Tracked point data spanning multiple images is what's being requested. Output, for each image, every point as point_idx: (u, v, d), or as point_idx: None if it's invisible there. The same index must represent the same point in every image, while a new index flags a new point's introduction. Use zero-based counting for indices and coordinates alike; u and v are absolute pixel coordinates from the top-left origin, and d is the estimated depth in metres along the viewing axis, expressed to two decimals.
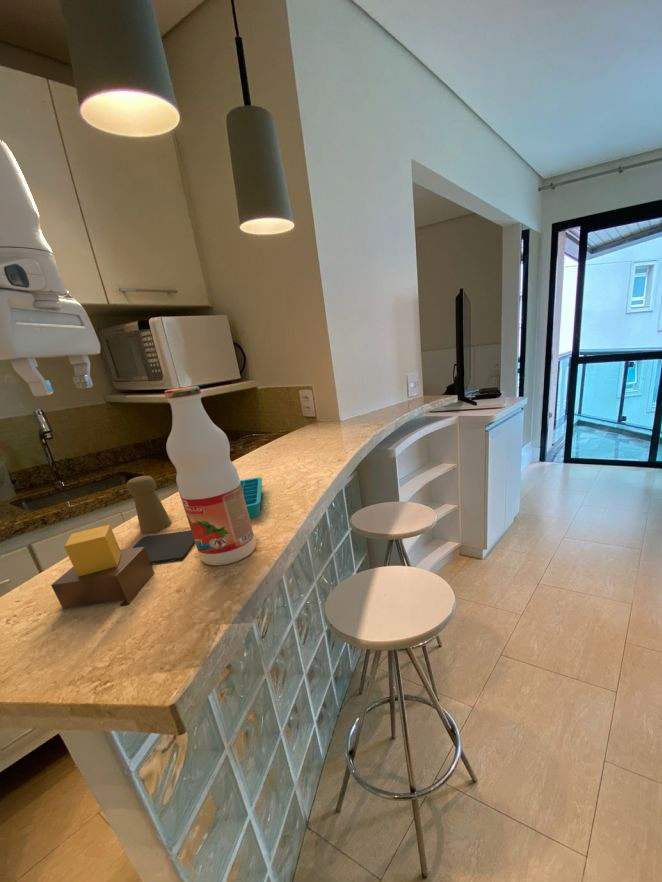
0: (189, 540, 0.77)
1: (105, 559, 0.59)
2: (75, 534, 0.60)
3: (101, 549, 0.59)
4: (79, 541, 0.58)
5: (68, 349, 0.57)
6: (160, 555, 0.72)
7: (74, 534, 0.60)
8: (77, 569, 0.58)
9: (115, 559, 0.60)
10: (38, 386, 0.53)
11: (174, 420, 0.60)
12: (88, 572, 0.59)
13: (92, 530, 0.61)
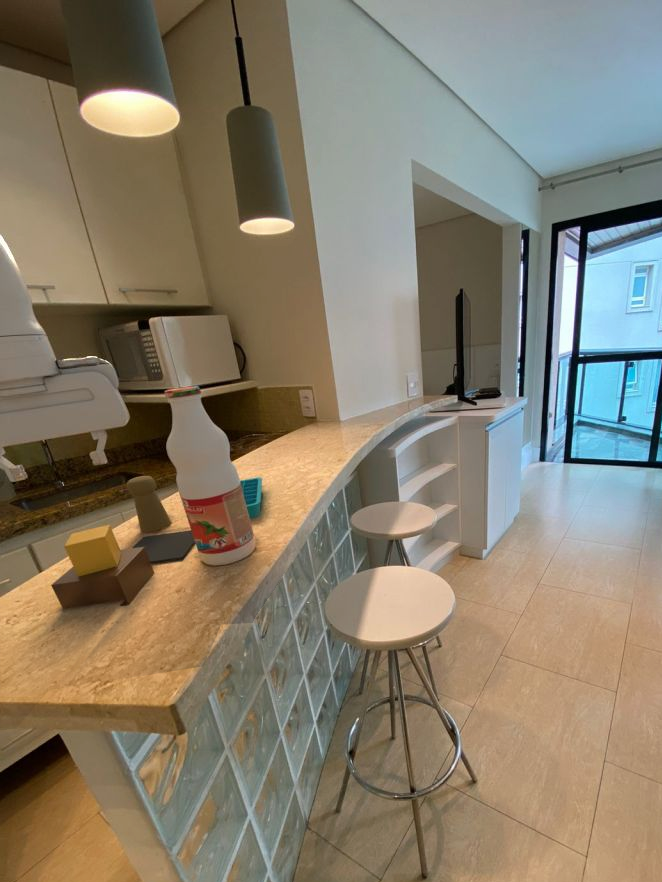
0: (189, 540, 0.77)
1: (105, 559, 0.59)
2: (75, 534, 0.60)
3: (101, 549, 0.59)
4: (79, 541, 0.58)
5: (49, 433, 0.52)
6: (160, 555, 0.72)
7: (74, 534, 0.60)
8: (77, 569, 0.58)
9: (115, 559, 0.60)
10: None
11: (174, 420, 0.60)
12: (88, 572, 0.59)
13: (92, 530, 0.61)
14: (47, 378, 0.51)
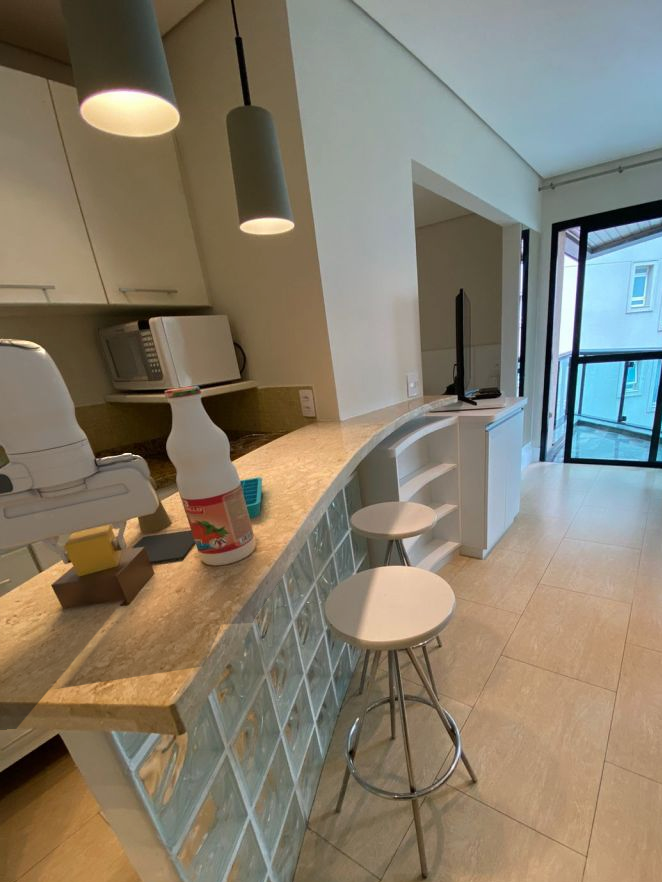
0: (189, 540, 0.77)
1: (105, 559, 0.59)
2: (75, 534, 0.60)
3: (101, 549, 0.59)
4: (79, 541, 0.58)
5: (88, 524, 0.57)
6: (160, 555, 0.72)
7: (74, 534, 0.60)
8: (77, 569, 0.58)
9: (115, 559, 0.60)
10: None
11: (174, 420, 0.60)
12: (88, 572, 0.59)
13: (92, 530, 0.61)
14: (87, 477, 0.56)
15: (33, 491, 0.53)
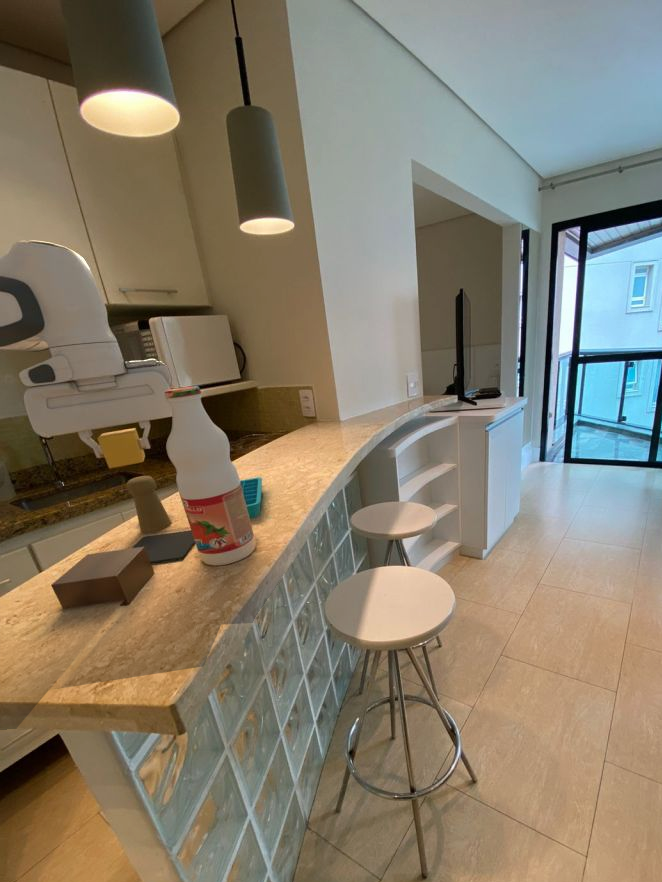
0: (189, 540, 0.77)
1: (132, 454, 0.67)
2: (106, 433, 0.68)
3: (129, 444, 0.66)
4: (110, 435, 0.65)
5: (118, 420, 0.65)
6: (160, 555, 0.72)
7: (105, 433, 0.68)
8: (108, 461, 0.66)
9: (141, 455, 0.68)
10: None
11: (174, 420, 0.60)
12: (118, 465, 0.66)
13: (120, 431, 0.68)
14: (118, 376, 0.63)
15: (72, 384, 0.61)
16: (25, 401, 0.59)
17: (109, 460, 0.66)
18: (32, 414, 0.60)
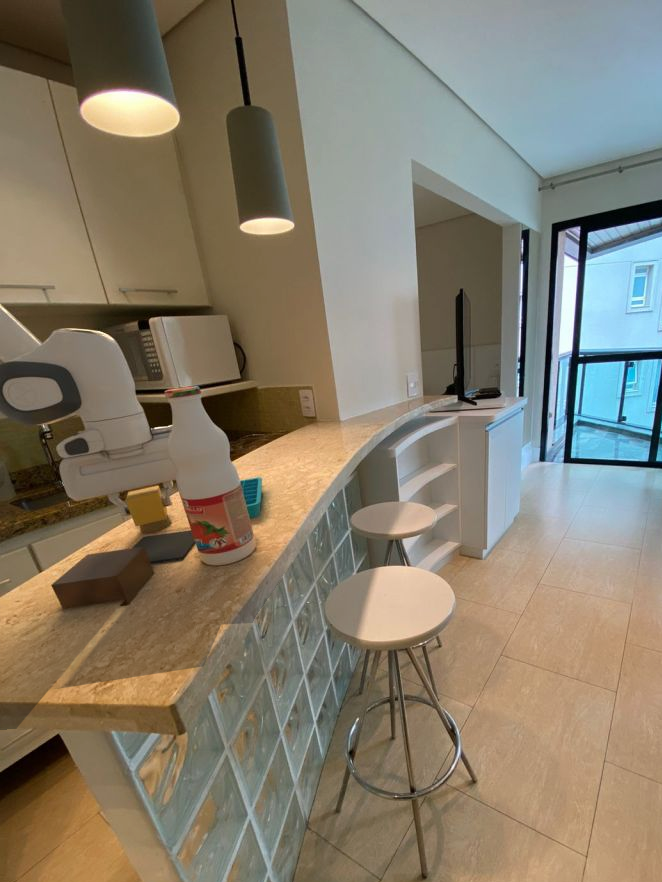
0: (189, 540, 0.77)
1: (157, 512, 0.72)
2: (132, 492, 0.73)
3: (154, 504, 0.71)
4: (136, 496, 0.70)
5: (144, 483, 0.70)
6: (160, 555, 0.72)
7: (130, 492, 0.73)
8: (135, 520, 0.70)
9: (165, 513, 0.73)
10: None
11: (174, 420, 0.60)
12: (143, 523, 0.71)
13: (145, 489, 0.73)
14: (144, 443, 0.68)
15: (103, 453, 0.66)
16: (61, 470, 0.64)
17: (135, 519, 0.70)
18: (67, 482, 0.65)
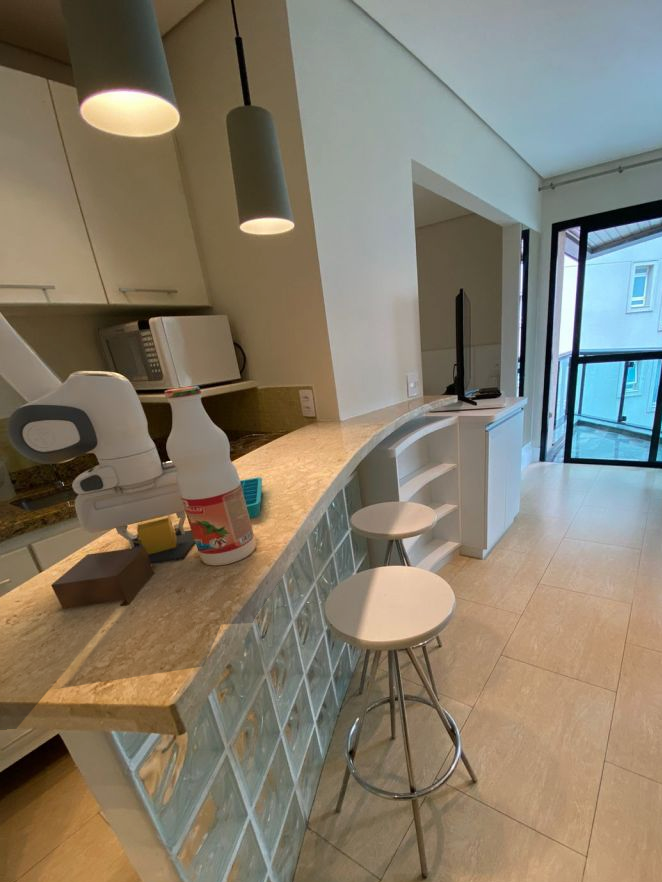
0: (189, 540, 0.77)
1: (167, 541, 0.74)
2: None
3: (164, 533, 0.73)
4: (147, 526, 0.72)
5: (155, 515, 0.72)
6: (160, 555, 0.72)
7: None
8: (146, 549, 0.73)
9: (174, 541, 0.75)
10: None
11: (174, 420, 0.60)
12: (154, 551, 0.73)
13: (155, 519, 0.75)
14: (156, 477, 0.71)
15: (116, 488, 0.68)
16: (76, 506, 0.66)
17: (146, 548, 0.73)
18: (81, 516, 0.67)
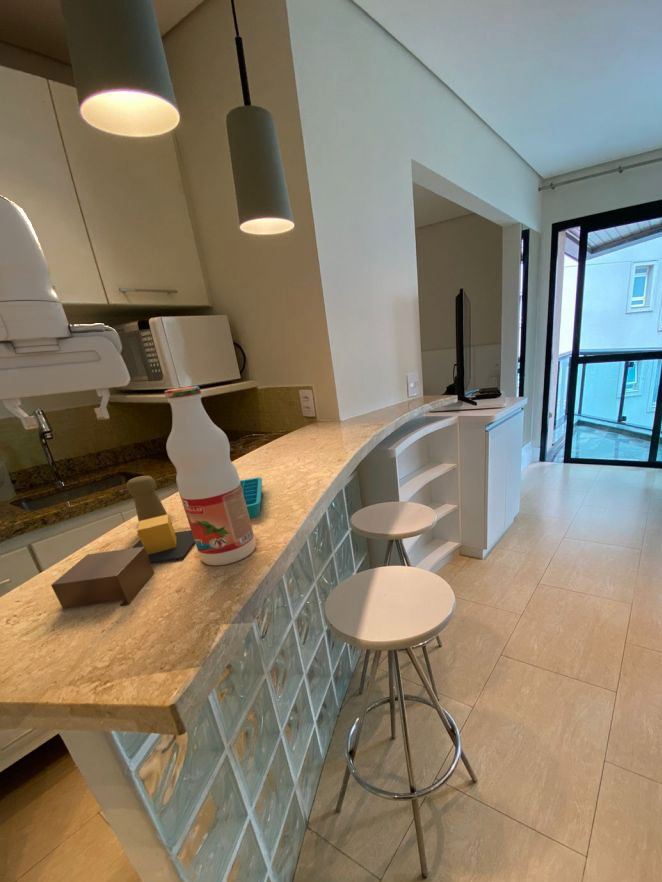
0: (189, 540, 0.77)
1: (167, 541, 0.74)
2: (142, 521, 0.75)
3: (164, 533, 0.73)
4: (147, 526, 0.72)
5: (60, 388, 0.61)
6: (160, 555, 0.72)
7: (141, 521, 0.75)
8: (146, 549, 0.73)
9: (174, 541, 0.75)
10: None
11: (174, 420, 0.60)
12: (154, 551, 0.73)
13: (155, 519, 0.75)
14: (61, 340, 0.59)
15: (8, 346, 0.57)
16: None
17: (146, 548, 0.73)
18: None
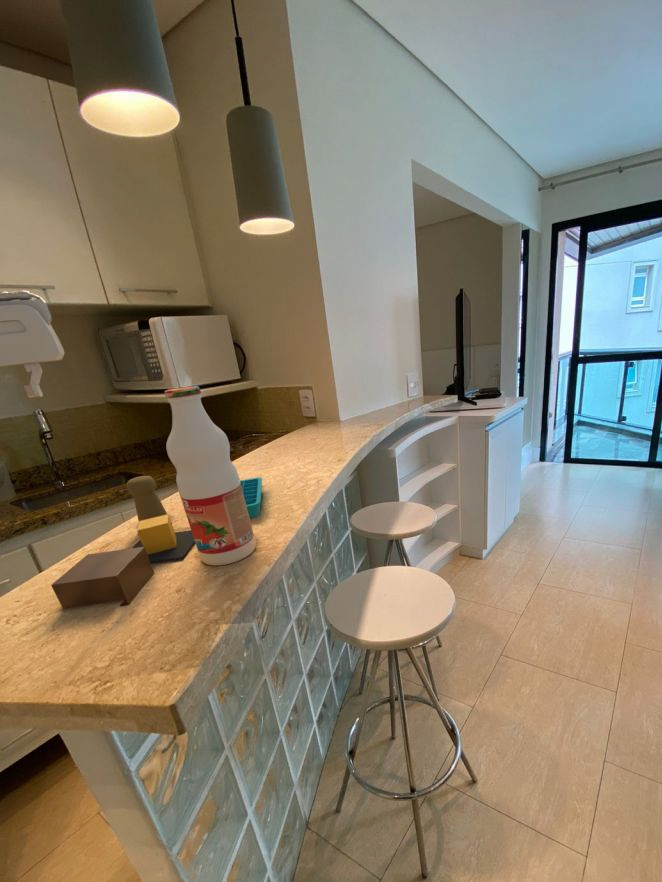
0: (189, 540, 0.77)
1: (167, 541, 0.74)
2: (142, 521, 0.75)
3: (164, 533, 0.73)
4: (147, 526, 0.72)
5: None
6: (160, 555, 0.72)
7: (141, 521, 0.75)
8: (146, 549, 0.73)
9: (174, 541, 0.75)
10: None
11: (174, 420, 0.60)
12: (154, 551, 0.73)
13: (155, 519, 0.75)
14: None
15: None
16: None
17: (146, 548, 0.73)
18: None
